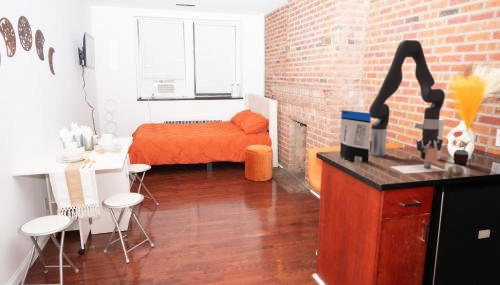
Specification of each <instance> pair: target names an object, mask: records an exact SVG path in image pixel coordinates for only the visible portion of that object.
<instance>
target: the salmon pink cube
mask: <svg viewBox="0 0 500 285" xmlns="http://www.w3.org/2000/svg"><path fill="white" fill-rule="evenodd" d="M423 150H424V148H423ZM437 152H438V148H433V147H431V146H430V147H428V148H426V152H425V159H421V152H420V156H419V157H420V158H419V160H420V161H423V162H424V161H426V162H431V163H432V162H437V161H438V159H437Z"/></svg>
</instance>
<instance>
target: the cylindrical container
mask: <svg viewBox="0 0 500 285" xmlns="http://www.w3.org/2000/svg"><path fill="white" fill-rule="evenodd" d="M444 124H445V119H444V118H440V117H439V134H438V137H437V138H438V139H442V140H443V134H444ZM436 144H437V142H436ZM442 147H443V146H441V148H442ZM441 155H442V149H441V150H439V151H438V152H437V160H441V158H442V157H441Z"/></svg>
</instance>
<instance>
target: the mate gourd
mask: <svg viewBox="0 0 500 285" xmlns="http://www.w3.org/2000/svg"><path fill="white" fill-rule="evenodd" d="M469 143H471V140H469V141H467V142H466V143H465V145H464V147H463V149H457V150H455V151H454V152H453V164H454V165H458V166H461V165H462V166H467V165H468V164H467V162H468V161H469V152H468V150H466V147H467V145H468V144H469Z"/></svg>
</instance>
